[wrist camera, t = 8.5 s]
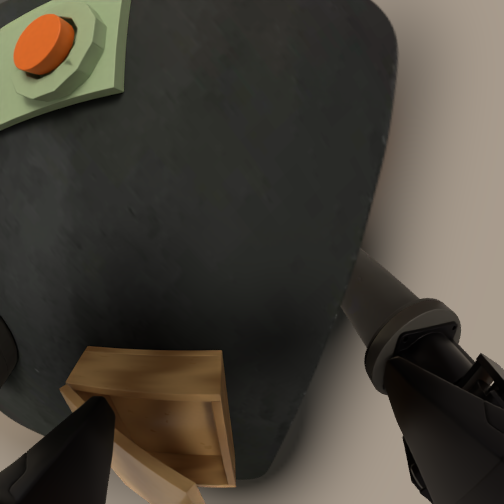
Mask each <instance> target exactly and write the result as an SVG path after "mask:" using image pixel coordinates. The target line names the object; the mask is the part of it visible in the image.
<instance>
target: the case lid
mask: <svg viewBox="0 0 504 504" xmlns="http://www.w3.org/2000/svg"><path fill="white" fill-rule="evenodd" d="M59 390H60V391H61V393H62V395H63V397H64V399H65V400H66V402H67V404H68V406H69V407H70V409H71V411H72V412H74V411H75V410H77V409H78V408H79V407H80V406H81V405H82V404H84V403H85V401H84V400H83V399H82V398H81V397H80V396H79V395H77V394H76V393H75V392H74V391H73V390H72V389H71V388H70V387H69V386H68V385H67V384H66V385H64V386H63V387H61V388H60V389H59ZM111 468H112V469H113V470H114V471H115V473H116V474H117V475H118V476H119V477H120V479H121V480H122V481H123V482H124V483H125V484H126V485H127V486H128V487H129V488H131V489H132V490H133V491H134V492H136V493H137V494H138V495H140V496H141V497H142V498H144V499H145V500H146V501H148V502H149V503H151V504H205V502H204V500H203V498H202V496H201V494H200V492H199V489H198V487H197V485H196V483H195V482H193V481H192V480H190V479H188V478H186V477H185V476H183V475H181V474H180V473H178V472H176V471H175V470H173V469H172V468H170V467H168V466H167V465H165V464H164V463H162V462H161V461H159V460H158V459H156V458H155V457H153V456H152V455H150V454H149V453H147V452H146V451H145V450H143V449H142V448H140V447H139V446H138V445H136V444H135V443H134V442H132V441H131V440H130V439H128V438H127V437H126V436H125V435H123V434H122V433H121V432H119V431H118V430H117V429H116V428H115V431H114V444H113V456H112V462H111Z"/></svg>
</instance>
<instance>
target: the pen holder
mask: <svg viewBox="0 0 504 504" xmlns="http://www.w3.org/2000/svg"><path fill="white" fill-rule="evenodd" d="M16 363H17V349H16V345H15V342H14V339H13V337H12V335H11V333H10V331H9V329H8V327H7V326H6V324H5V323H4V321H3V320H2V318H1V317H0V388H1V387H2V385H3V384H4V382H5V381H6V379H7V377H8V376H9V374H10V373H11V371H12V370H13V368H14V367H15V365H16Z"/></svg>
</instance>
